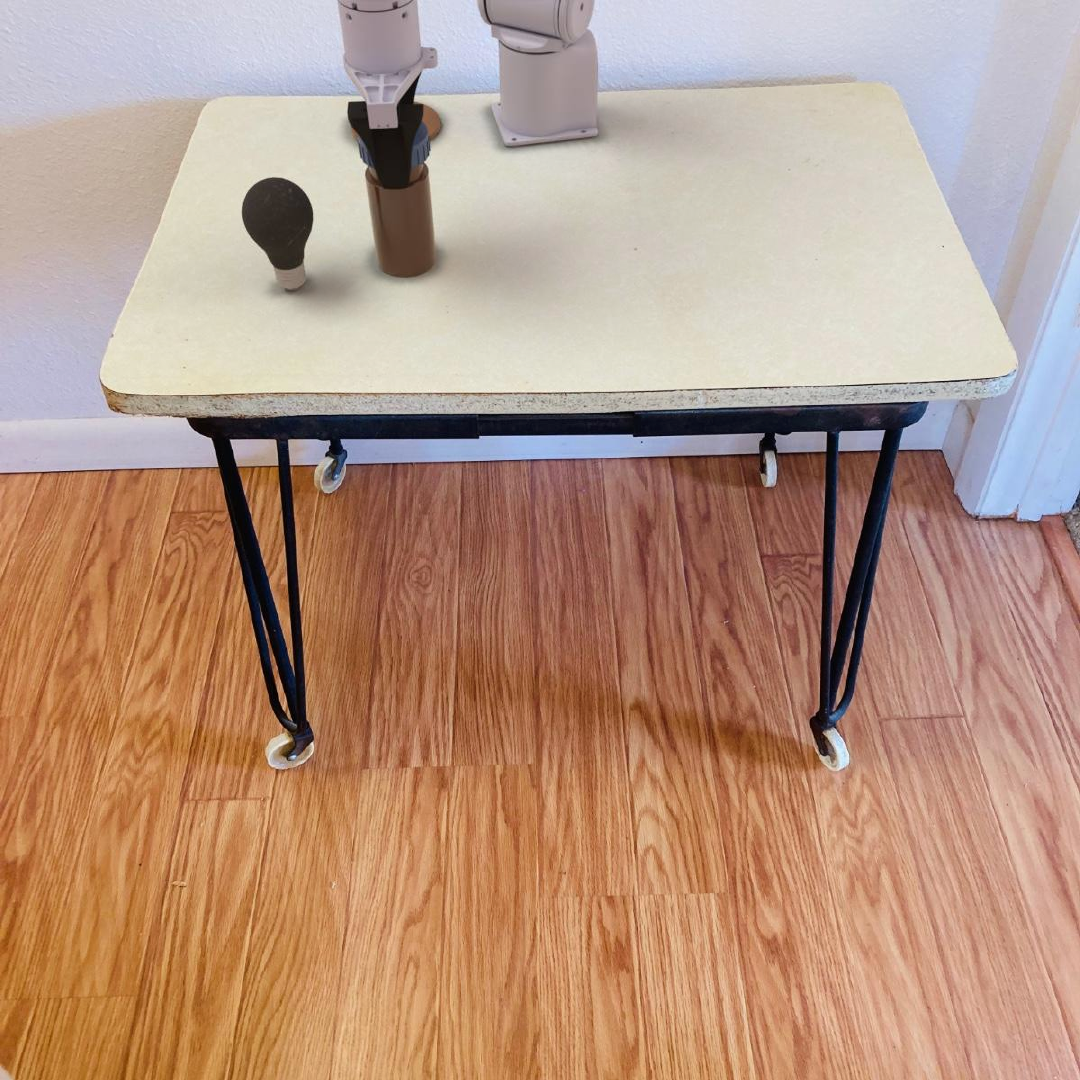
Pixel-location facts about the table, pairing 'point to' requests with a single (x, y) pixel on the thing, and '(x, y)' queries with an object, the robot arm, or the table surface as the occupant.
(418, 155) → the jar lid
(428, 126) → the coaster
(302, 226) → the light bulb
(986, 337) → the table surface
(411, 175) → the jar
